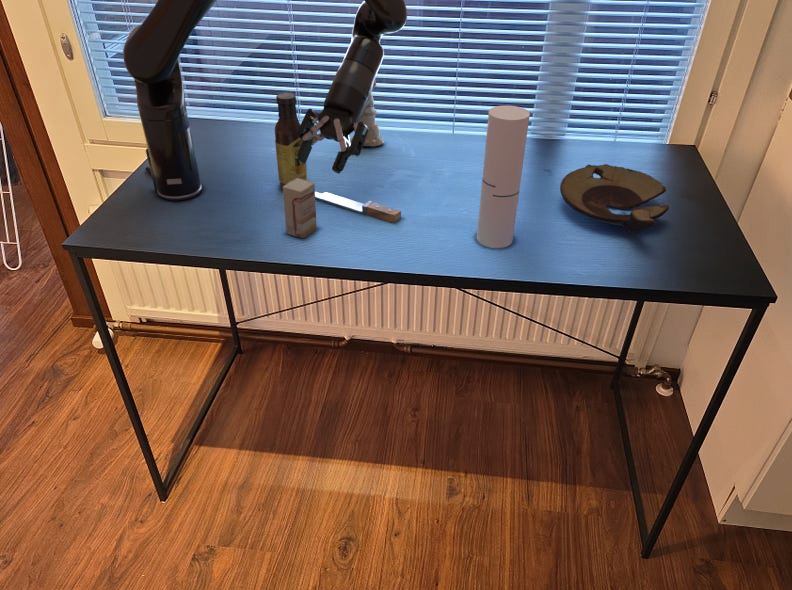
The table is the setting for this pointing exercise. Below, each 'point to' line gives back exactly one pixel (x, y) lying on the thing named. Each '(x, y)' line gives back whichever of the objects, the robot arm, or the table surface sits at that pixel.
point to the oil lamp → (613, 195)
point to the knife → (361, 207)
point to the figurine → (370, 122)
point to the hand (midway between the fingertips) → (318, 166)
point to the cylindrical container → (502, 175)
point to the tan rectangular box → (300, 207)
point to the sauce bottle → (288, 140)
